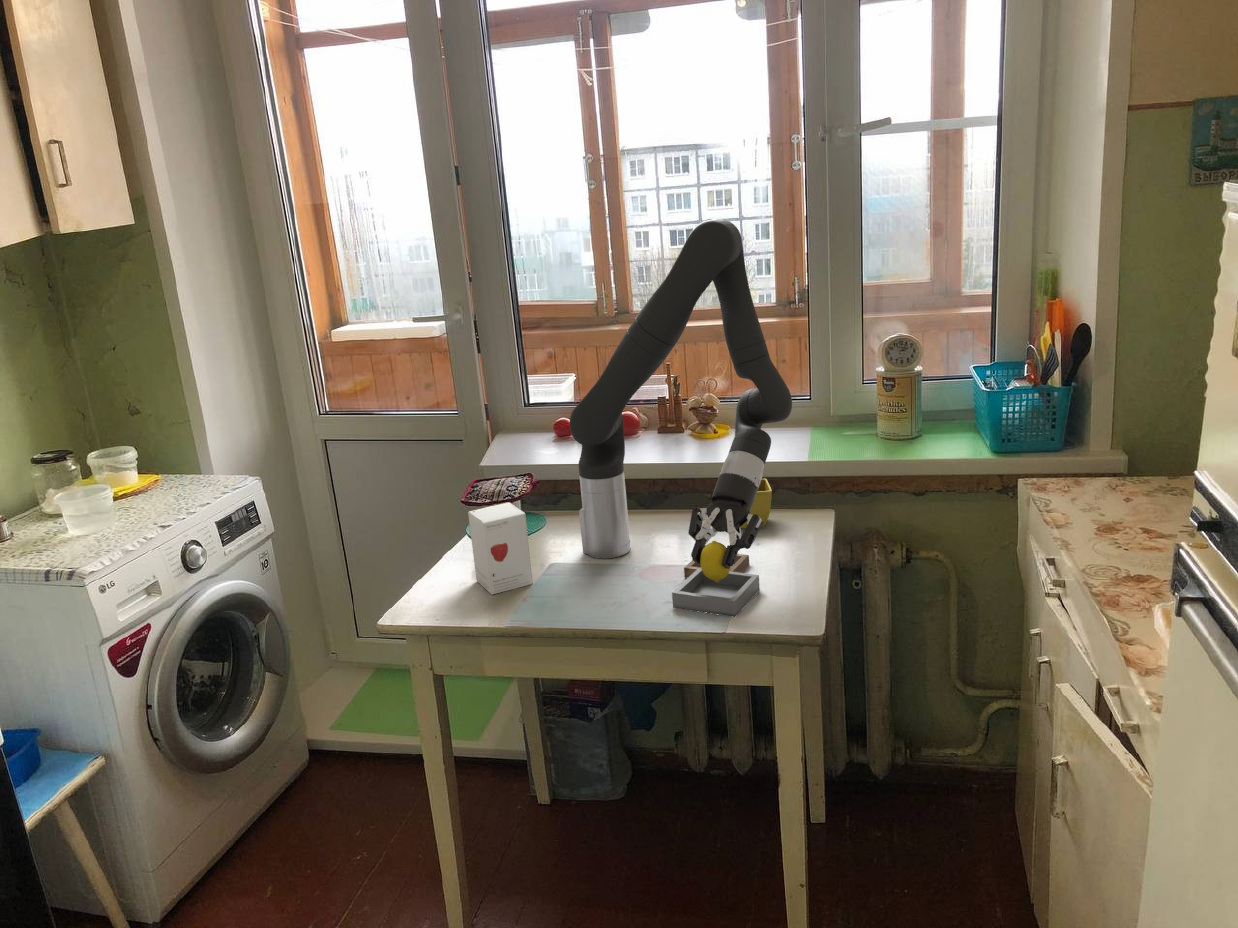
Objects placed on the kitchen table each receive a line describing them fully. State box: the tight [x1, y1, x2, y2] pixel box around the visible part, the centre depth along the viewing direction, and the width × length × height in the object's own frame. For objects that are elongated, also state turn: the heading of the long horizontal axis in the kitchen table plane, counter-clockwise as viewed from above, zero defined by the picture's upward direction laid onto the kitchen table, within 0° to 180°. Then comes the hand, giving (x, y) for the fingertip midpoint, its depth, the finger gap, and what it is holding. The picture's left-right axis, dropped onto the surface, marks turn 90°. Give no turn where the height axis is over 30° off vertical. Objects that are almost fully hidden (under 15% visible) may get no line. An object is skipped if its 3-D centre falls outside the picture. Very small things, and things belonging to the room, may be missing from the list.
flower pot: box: [740, 478, 773, 529], centre depth 210 cm, size 9×9×9 cm
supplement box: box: [467, 502, 534, 596], centre depth 189 cm, size 9×9×15 cm
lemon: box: [700, 540, 732, 582], centre depth 173 cm, size 6×6×8 cm
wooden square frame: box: [683, 553, 750, 579], centre depth 187 cm, size 10×10×2 cm
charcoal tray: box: [671, 568, 760, 618], centre depth 175 cm, size 12×12×3 cm
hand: (710, 563), depth 172 cm, fingers closed on lemon, 5 cm apart
